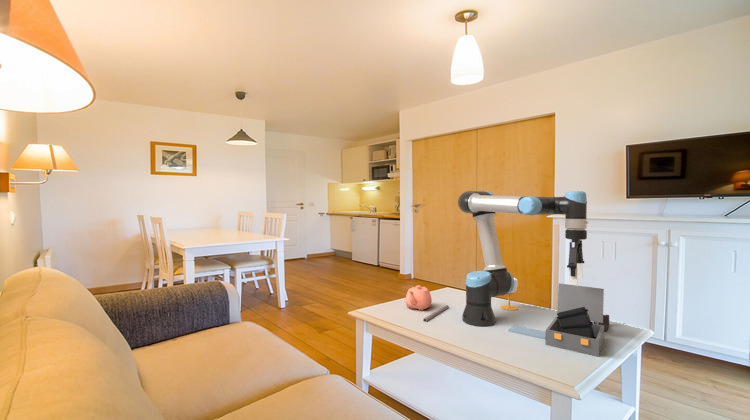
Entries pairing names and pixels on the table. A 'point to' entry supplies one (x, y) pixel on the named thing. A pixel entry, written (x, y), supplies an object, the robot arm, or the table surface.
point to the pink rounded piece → (418, 298)
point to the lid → (581, 300)
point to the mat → (528, 331)
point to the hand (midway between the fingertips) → (576, 281)
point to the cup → (508, 307)
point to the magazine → (576, 322)
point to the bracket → (605, 322)
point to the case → (575, 339)
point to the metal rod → (435, 313)
